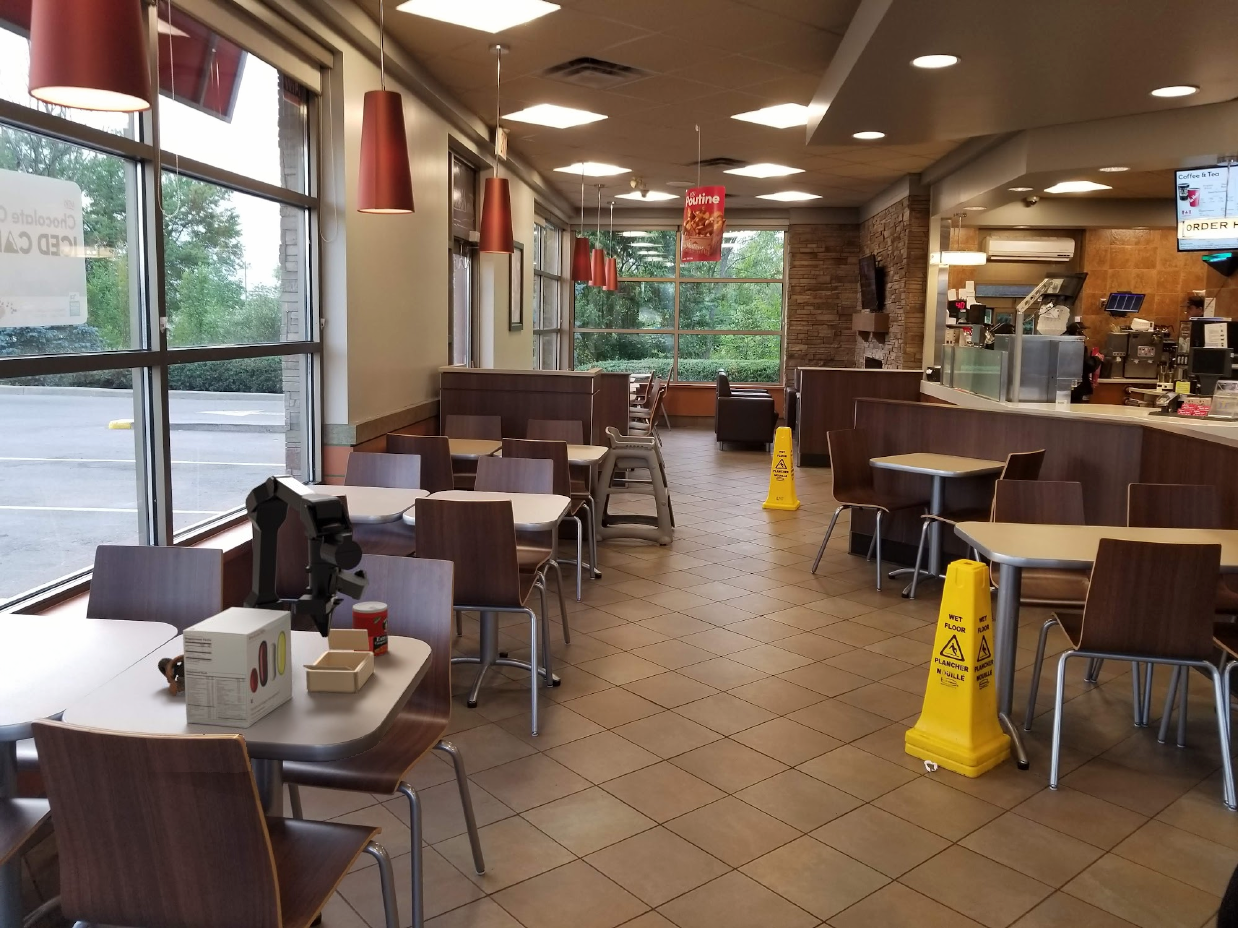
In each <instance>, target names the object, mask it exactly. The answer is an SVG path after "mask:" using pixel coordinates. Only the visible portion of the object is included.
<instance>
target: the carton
mask: <svg viewBox="0 0 1238 928" xmlns="http://www.w3.org/2000/svg"><path fill="white" fill-rule="evenodd" d="M374 657H375V656H374V653H373V652H356V651H354V650H326V651H324V652H323V653H322V654H320V656H319V657H318V658H317V659H316V660H315V661H314V662H313V663H312V664H311V665H330V666H348V667H350V668H351V669H353V671H343V670H310V669H307V668H306V671H305V673H306V674H305V675H306V679H305V680H306V690H307V693H319V694H320V693H324V694H325V693H326V694H327V693H329V694H330V693H331V694H332V693H333V694H357V693H358V692H359V691H360V690H361V688H362V687H363V686H364V685H365V683H366V682H367V680H368V679H369V678H370V677H371V675H372V674H373V672H374V671H375V662H374V661H375V659H374ZM358 690H359V691H358Z"/></svg>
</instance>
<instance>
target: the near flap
mask: <svg viewBox="0 0 1238 928" xmlns="http://www.w3.org/2000/svg"><path fill="white" fill-rule="evenodd" d="M302 667H303V668H304V669H306V670H307V669H310V670H343V671H353V669H351V668H350V667H348V666H330V665H312V664H303V665H302Z"/></svg>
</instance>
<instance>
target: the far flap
mask: <svg viewBox="0 0 1238 928" xmlns="http://www.w3.org/2000/svg"><path fill="white" fill-rule="evenodd" d="M327 642H328V651H354V650H369V643H368V633H367V630H354V629H353V628H351V629H349V628H347V629H345V628H343V629H342V628H340V629H339V628H338V629H337V628H330V632H329V636H328V637H327Z"/></svg>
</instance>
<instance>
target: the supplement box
mask: <svg viewBox="0 0 1238 928" xmlns="http://www.w3.org/2000/svg"><path fill="white" fill-rule="evenodd" d="M291 616H292V615H291V611H290V610H289V611H288V610H284V611H279V610H266V609H253V608H243V607H235V606H231V607H229V608H227V609H225V610H223V611H221V612H219V613H217V614H214V615H213V616H212V615H211V616H210V617H208V618H206V619H204V620H202V621H200V622H197V623H195V624H193V625H192V626H189V627H186V628H185V629H183V630H182V639H183V640H182V641H183V654H184V670H185V691H184V692H185V711H186V712H185V714H186V715H185V716H186V723H189V724H191V723H192V724H203V725H209V726H210V725H212V726H213V725H214V726H223V727H233V728H242V729H249V727H251V726H252V725H253V724H255V723H257V722H258V721H259V720H261V719H262V718H264V717H265V716H266V715H268V714H270V713H271V712H272V711H274V710H275V709H277V708H278V707H280V706H281V705H283V704H284V703H286V702H287V701H289V700H290V699H292V698H293V675H292V674H293V673H292V672H293V670H292V669H293V667H292V664H293V663H292V660H293V659H292V630H291V629H292V628H291V625H292V623H291Z"/></svg>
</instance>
